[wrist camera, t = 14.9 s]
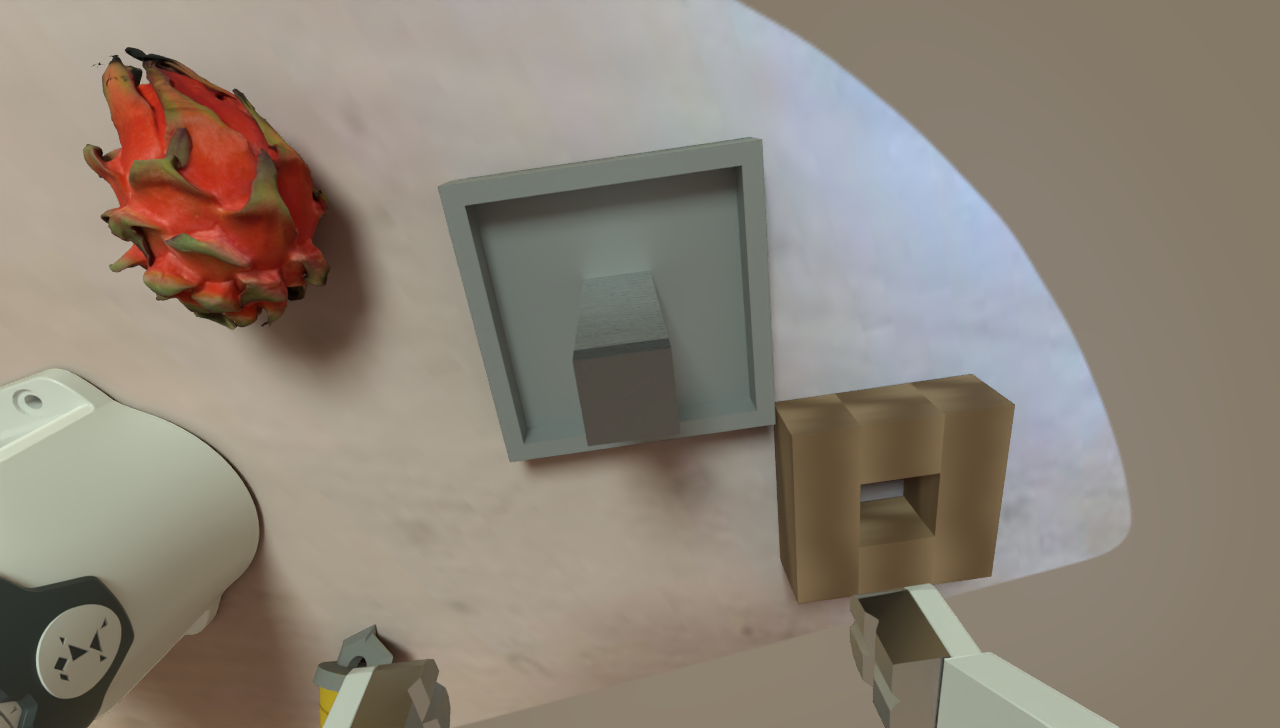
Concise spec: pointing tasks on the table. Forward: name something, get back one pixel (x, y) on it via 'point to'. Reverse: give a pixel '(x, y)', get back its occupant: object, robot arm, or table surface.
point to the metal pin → (624, 361)
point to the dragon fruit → (207, 195)
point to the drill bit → (348, 666)
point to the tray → (610, 245)
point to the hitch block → (881, 451)
